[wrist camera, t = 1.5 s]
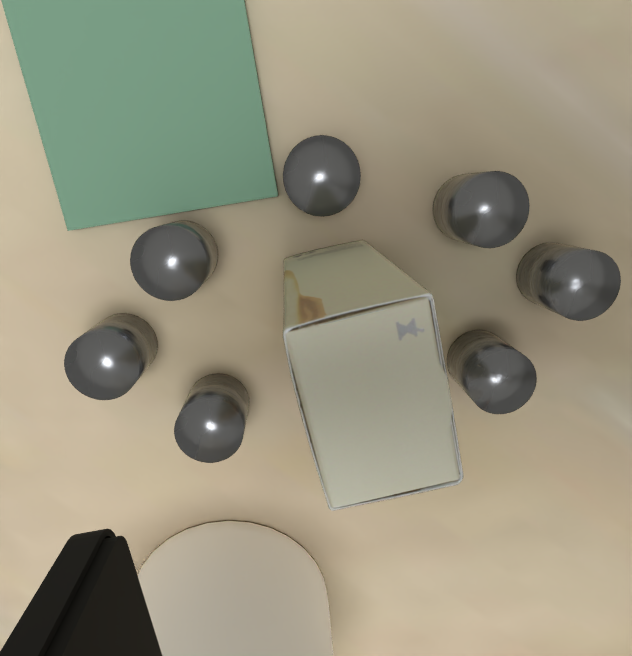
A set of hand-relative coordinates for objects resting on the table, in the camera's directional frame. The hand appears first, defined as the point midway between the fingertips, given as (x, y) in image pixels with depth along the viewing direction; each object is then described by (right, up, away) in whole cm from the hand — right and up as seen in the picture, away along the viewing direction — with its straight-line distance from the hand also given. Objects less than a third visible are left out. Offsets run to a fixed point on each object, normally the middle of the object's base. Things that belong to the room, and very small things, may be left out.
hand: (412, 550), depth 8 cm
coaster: (-9, +14, +14) cm, 22 cm away
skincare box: (0, +5, +18) cm, 18 cm away
